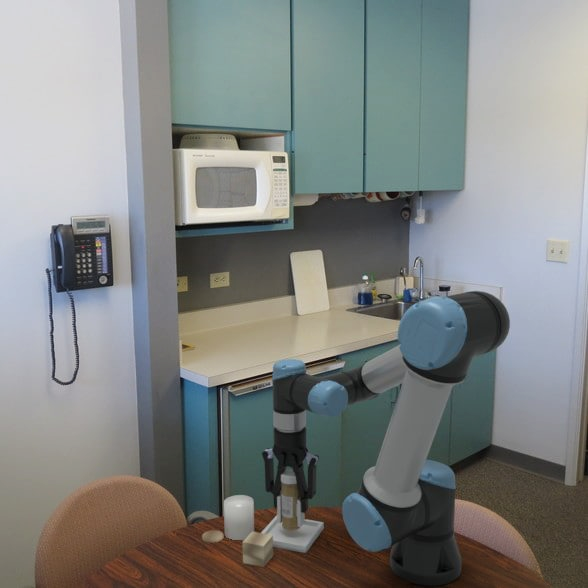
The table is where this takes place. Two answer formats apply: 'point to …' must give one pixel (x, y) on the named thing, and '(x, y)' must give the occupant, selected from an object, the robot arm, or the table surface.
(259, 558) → the maple block
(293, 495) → the sprinkles bottle
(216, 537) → the cork coaster
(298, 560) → the table surface
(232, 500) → the frosted white cylinder
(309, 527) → the tray
